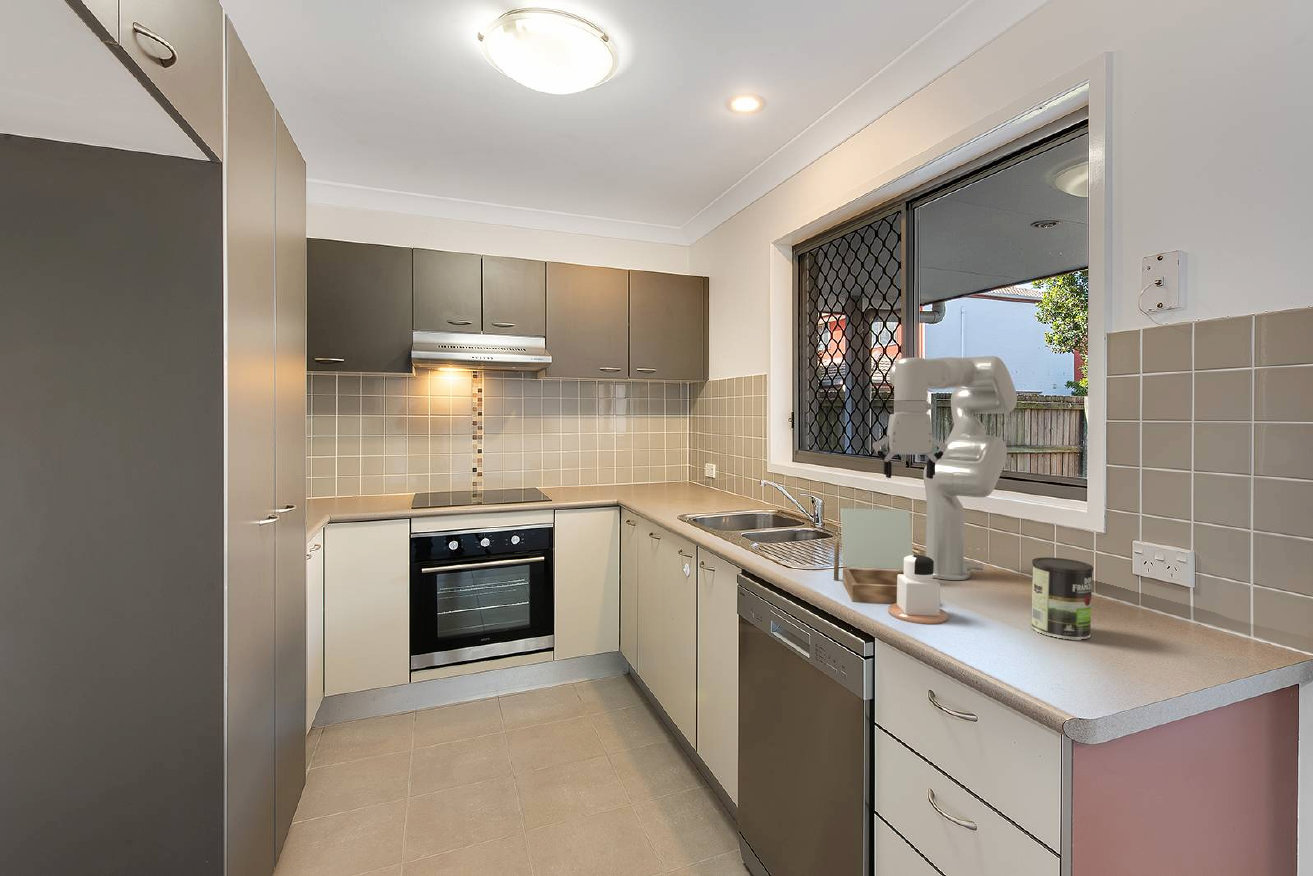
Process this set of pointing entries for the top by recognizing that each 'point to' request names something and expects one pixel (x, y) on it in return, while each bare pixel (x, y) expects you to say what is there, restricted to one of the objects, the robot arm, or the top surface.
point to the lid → (875, 538)
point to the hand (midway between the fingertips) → (908, 477)
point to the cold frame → (871, 584)
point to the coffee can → (1061, 598)
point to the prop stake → (836, 559)
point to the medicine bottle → (918, 587)
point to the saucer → (917, 616)
